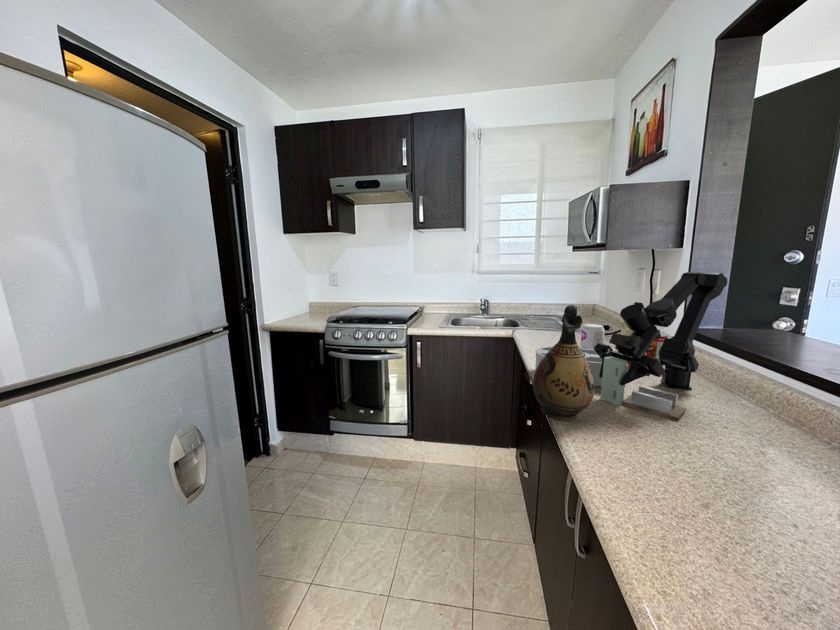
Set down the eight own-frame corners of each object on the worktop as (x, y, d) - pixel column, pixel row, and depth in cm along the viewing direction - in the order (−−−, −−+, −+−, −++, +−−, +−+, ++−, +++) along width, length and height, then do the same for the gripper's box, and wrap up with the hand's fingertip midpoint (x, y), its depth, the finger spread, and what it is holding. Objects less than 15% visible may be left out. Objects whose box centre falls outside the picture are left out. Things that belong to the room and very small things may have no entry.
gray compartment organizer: (625, 391, 104) (628, 365, 102) (534, 380, 114) (535, 357, 112) (615, 373, 119) (617, 351, 118) (535, 366, 129) (536, 345, 128)
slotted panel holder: (622, 404, 94) (623, 390, 93) (631, 396, 99) (633, 383, 98) (677, 421, 84) (680, 405, 83) (685, 411, 89) (687, 396, 88)
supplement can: (580, 362, 131) (583, 326, 129) (578, 356, 139) (581, 322, 136) (603, 364, 128) (606, 328, 126) (600, 358, 136) (603, 324, 133)
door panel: (607, 396, 99) (611, 356, 97) (623, 403, 95) (627, 361, 92) (600, 398, 98) (603, 357, 96) (615, 405, 94) (619, 362, 91)
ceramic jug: (596, 431, 80) (607, 312, 75) (530, 421, 85) (536, 309, 80) (587, 402, 96) (595, 302, 90) (532, 395, 101) (537, 300, 96)
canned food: (647, 358, 135) (650, 330, 133) (668, 364, 128) (672, 334, 126) (635, 361, 132) (638, 332, 130) (656, 367, 125) (660, 337, 123)
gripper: (600, 318, 102) (571, 355, 100) (662, 329, 85) (629, 375, 83) (615, 339, 107) (588, 376, 104) (677, 354, 89) (646, 398, 87)
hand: (610, 380), depth 95 cm, fingers open, 6 cm apart
